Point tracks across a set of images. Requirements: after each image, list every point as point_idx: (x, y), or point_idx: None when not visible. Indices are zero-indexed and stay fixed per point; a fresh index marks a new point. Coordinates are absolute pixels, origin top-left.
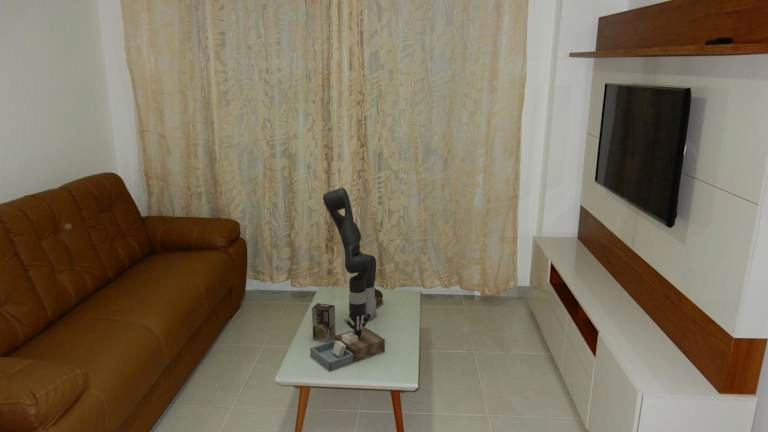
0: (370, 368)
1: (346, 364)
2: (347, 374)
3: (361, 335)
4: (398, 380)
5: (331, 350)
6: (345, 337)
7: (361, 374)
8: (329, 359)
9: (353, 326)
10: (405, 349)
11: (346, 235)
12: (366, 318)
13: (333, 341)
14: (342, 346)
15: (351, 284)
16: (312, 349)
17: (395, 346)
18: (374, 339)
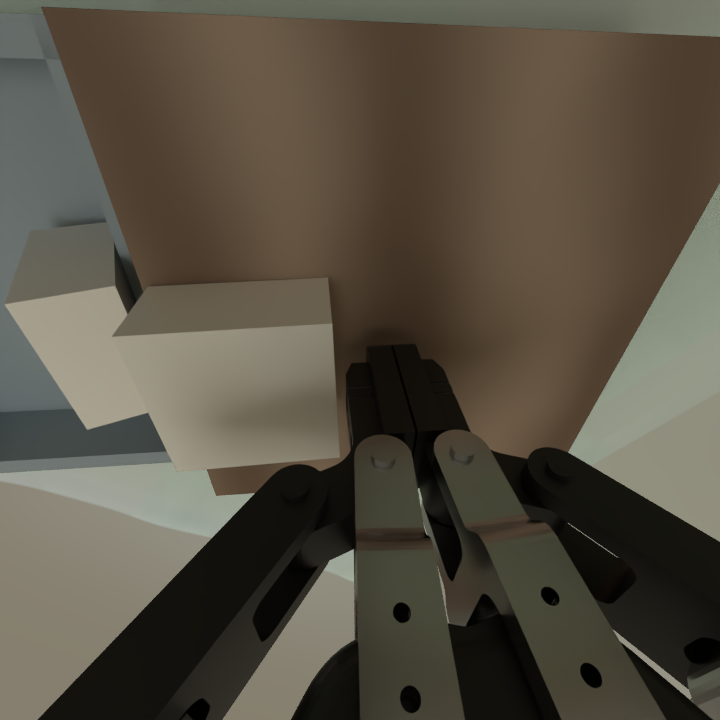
0: None
1: None
2: (129, 477)
3: (476, 307)
4: (343, 569)
5: (58, 114)
6: (152, 419)
7: (213, 501)
8: (1, 294)
9: (277, 612)
10: (615, 421)
11: None
12: (675, 666)
13: (50, 63)
14: (103, 420)
15: None
16: None
17: (622, 367)
18: (497, 439)
